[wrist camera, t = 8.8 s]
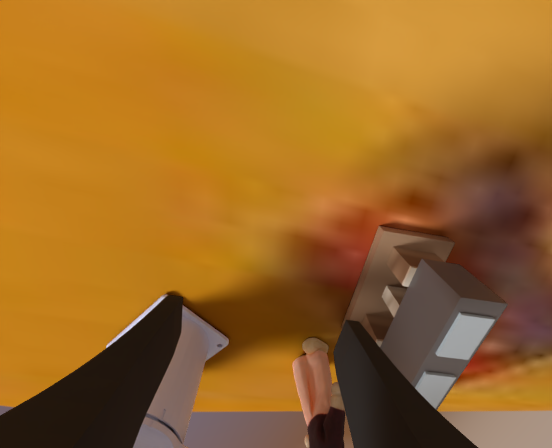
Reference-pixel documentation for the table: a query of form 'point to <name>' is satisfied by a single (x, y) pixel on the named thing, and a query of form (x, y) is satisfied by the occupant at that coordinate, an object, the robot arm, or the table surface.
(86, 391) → the robot arm
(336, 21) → the table surface
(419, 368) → the bar
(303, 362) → the grandmother figurine
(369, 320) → the stand
